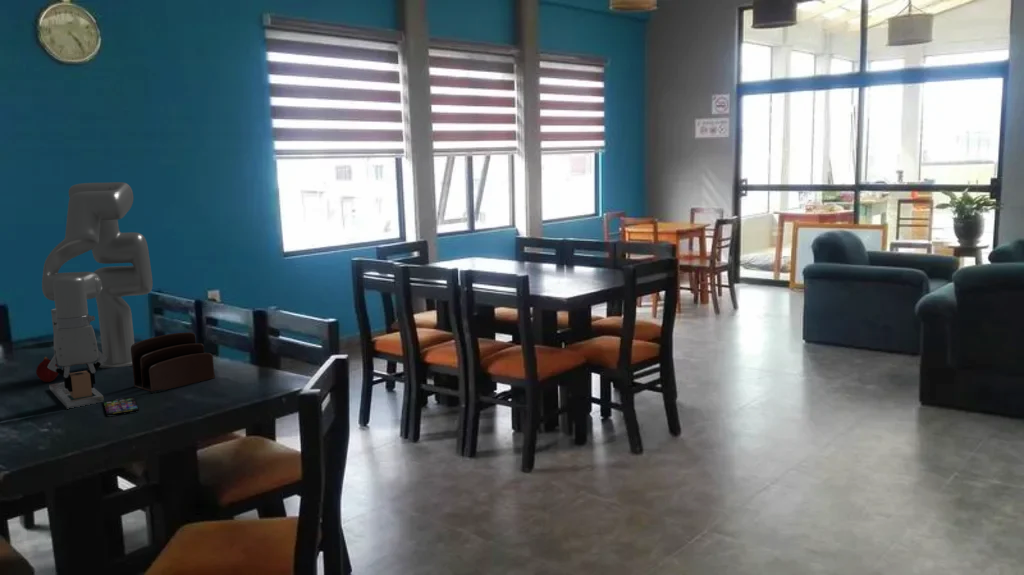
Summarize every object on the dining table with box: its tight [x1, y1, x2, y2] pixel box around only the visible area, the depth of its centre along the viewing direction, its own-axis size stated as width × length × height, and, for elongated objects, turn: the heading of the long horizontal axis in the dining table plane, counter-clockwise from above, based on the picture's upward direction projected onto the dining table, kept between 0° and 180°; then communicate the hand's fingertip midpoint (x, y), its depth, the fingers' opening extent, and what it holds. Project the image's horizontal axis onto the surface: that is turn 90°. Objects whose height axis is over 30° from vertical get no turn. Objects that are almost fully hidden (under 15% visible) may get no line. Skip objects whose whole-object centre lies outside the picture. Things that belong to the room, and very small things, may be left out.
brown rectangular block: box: [69, 370, 92, 399], centre depth 222 cm, size 4×4×6 cm
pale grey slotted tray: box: [49, 381, 105, 410], centre depth 229 cm, size 9×24×2 cm, turn 38°
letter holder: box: [131, 332, 216, 394], centre depth 240 cm, size 10×20×14 cm, turn 141°
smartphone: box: [103, 396, 140, 416], centre depth 218 cm, size 8×1×15 cm
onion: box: [35, 356, 59, 383], centre depth 244 cm, size 6×6×8 cm
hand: (80, 388), depth 223 cm, fingers closed on brown rectangular block, 4 cm apart
